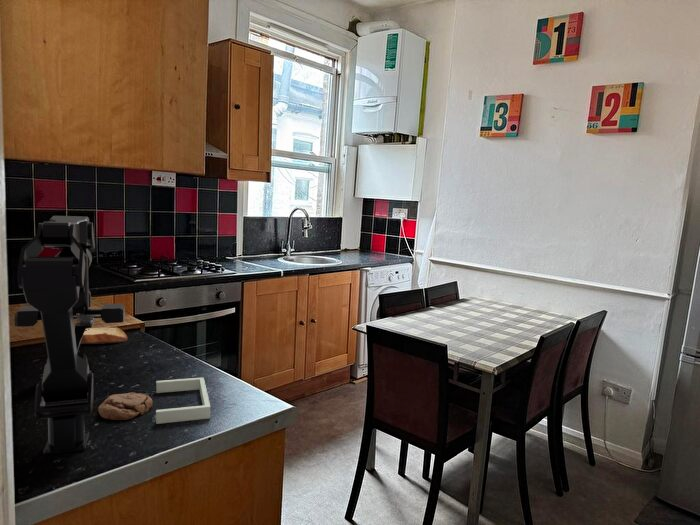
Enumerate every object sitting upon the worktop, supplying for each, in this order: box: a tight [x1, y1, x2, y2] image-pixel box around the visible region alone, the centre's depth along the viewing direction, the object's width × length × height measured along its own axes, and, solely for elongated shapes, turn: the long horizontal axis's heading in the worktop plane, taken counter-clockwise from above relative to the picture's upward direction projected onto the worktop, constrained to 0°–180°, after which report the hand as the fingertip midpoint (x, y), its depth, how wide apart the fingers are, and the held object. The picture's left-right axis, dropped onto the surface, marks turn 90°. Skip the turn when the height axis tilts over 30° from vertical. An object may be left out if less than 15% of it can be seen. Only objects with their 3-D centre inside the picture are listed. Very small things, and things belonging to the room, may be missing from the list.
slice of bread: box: [80, 326, 129, 345], centre depth 151 cm, size 18×18×4 cm
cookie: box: [97, 391, 154, 421], centre depth 106 cm, size 10×11×3 cm
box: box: [155, 377, 211, 425], centre depth 110 cm, size 17×10×2 cm, turn 21°
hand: (73, 356), depth 101 cm, fingers closed
